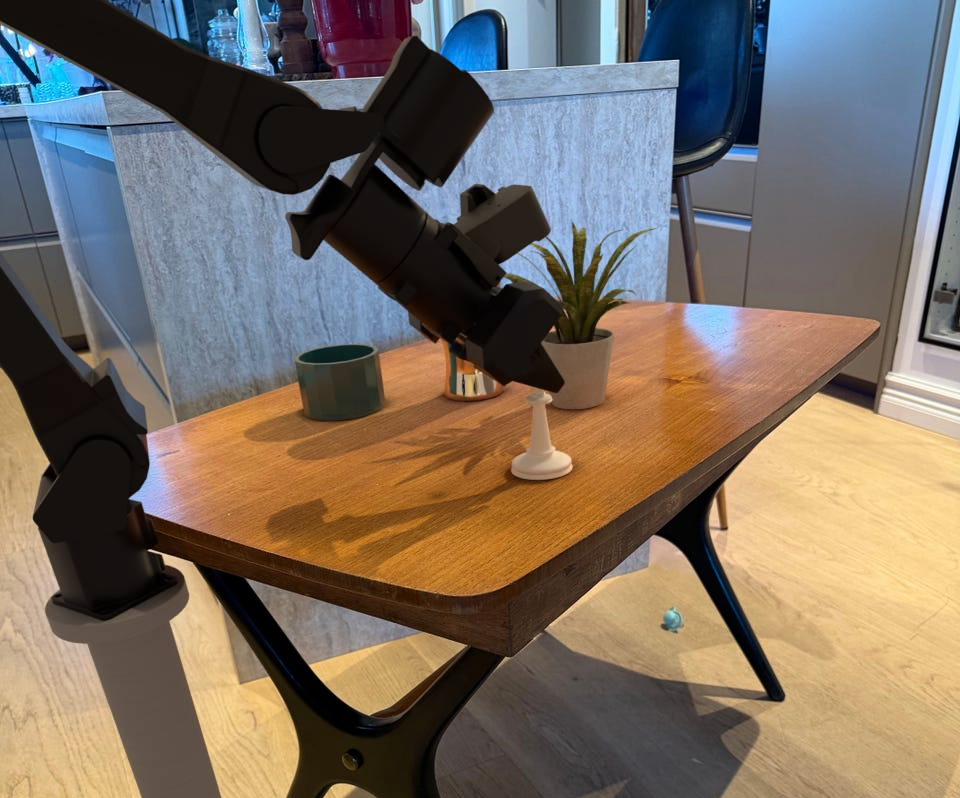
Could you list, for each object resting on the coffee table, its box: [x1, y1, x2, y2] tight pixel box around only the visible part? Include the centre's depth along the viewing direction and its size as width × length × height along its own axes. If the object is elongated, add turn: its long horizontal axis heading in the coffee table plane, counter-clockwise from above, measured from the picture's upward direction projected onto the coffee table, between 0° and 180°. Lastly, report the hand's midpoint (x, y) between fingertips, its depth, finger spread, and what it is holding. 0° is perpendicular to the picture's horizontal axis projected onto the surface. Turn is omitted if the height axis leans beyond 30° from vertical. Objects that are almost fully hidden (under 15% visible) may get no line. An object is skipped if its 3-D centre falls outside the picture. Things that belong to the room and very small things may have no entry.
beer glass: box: [441, 264, 504, 402], centre depth 89 cm, size 7×7×15 cm
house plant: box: [503, 221, 658, 410], centre depth 84 cm, size 14×14×16 cm
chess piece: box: [510, 386, 574, 481], centre depth 69 cm, size 5×5×10 cm
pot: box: [293, 343, 386, 422], centre depth 90 cm, size 8×8×6 cm
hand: (554, 384), depth 69 cm, fingers closed on chess piece
